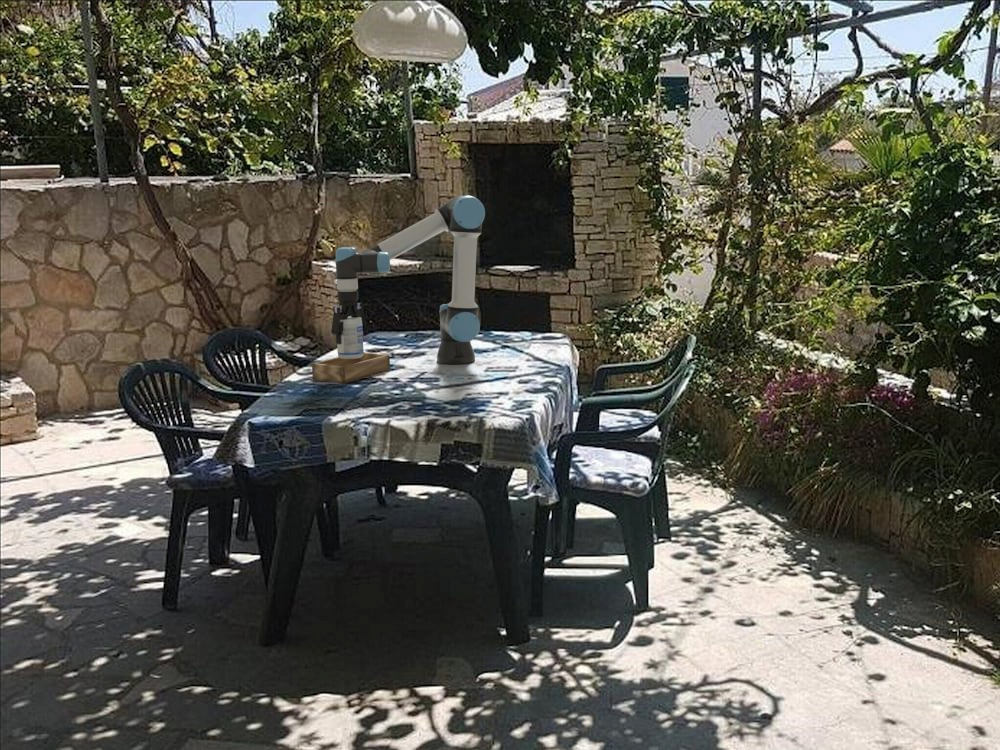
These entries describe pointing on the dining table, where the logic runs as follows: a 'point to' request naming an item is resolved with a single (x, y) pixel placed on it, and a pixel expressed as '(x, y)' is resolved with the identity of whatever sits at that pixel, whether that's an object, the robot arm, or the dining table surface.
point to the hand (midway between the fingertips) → (350, 350)
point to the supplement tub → (352, 338)
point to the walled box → (350, 368)
